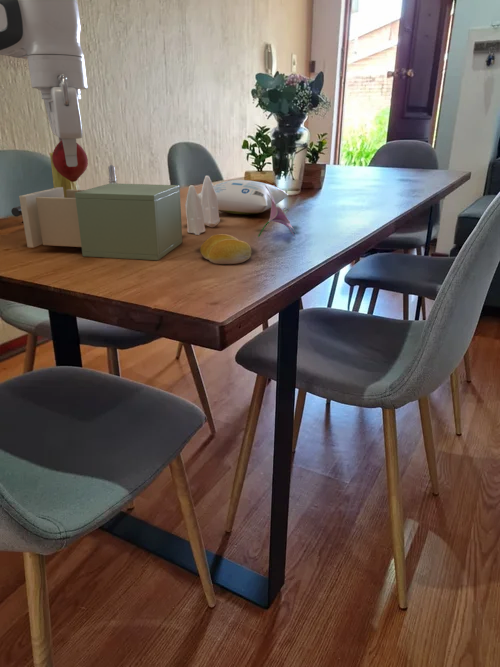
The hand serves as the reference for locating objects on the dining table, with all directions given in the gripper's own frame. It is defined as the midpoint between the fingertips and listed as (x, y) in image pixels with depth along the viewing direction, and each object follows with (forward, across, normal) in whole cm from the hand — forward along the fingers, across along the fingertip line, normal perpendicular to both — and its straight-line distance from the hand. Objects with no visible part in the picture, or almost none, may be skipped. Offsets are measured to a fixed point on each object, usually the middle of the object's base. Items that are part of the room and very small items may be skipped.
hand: (70, 164), depth 90 cm
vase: (+15, +41, -1) cm, 44 cm away
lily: (+15, -6, -38) cm, 42 cm away
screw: (+15, +18, -10) cm, 25 cm away
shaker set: (+15, +7, -26) cm, 31 cm away
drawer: (+14, +1, +2) cm, 14 cm away
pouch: (+15, +24, -42) cm, 51 cm away
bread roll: (+15, -19, -22) cm, 33 cm away
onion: (+3, 0, 0) cm, 3 cm away
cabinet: (+15, -6, -9) cm, 18 cm away
